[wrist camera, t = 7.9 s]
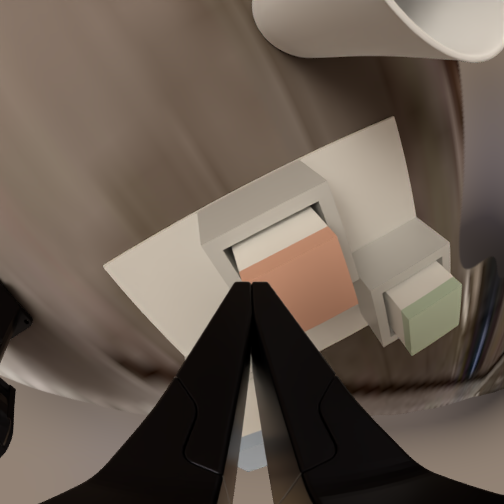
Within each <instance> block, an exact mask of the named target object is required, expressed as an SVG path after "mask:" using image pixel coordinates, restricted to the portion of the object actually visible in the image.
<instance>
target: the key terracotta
mask: <svg viewBox="0 0 504 504" xmlns="http://www.w3.org/2000/svg"><path fill="white" fill-rule="evenodd" d="M232 250H233V253H234V257H235V260H236V264H237V267H238V270H239V274H240V277H241V280H242V281H246V282H250V283H251V284H252V282H268V283H269V284H270V285H271V287H272V288H273V290H274V291H275V292H276V294H277V295H278V296H279V298H280V299H281V300H282V302H283V303H284V304H285V306H286V307H287V309H288V310H289V311H290V313H291V314H292V315H293V317H294V318H295V319H296V321H297V322H298V323H299V325H300V326H301V328H302V329H303V330H304V332H305V331H307V330H309V329H311V328H313V327H315V326H317V325H319V324H321V323H323V322H325V321H327V320H329V319H331V318H333V317H335V316H336V315H338V314H340V313H342V312H344V311H346V310H348V309H349V308H351V307H353V306H355V305H357V304H358V299H357V296H356V293H355V290H354V286H353V283H352V280H351V277H350V274H349V271H348V268H347V265H346V261H345V258H344V255H343V252H342V249H341V247H340V244H339V241H338V238H337V236H336V234H335V233H334V232H333V231H332V230H331V229H330V228H329V227H328V226H327V224H326V223H325V222H324V221H323V220H322V219H321V218H320V217H319V216H318V215H317V214H316V212H315V211H314V210H313V209H312V208H311V207H310V206H308V207H306V208H304V209H302V210H300V211H298V212H296V213H294V214H292V215H290V216H288V217H286V218H284V219H282V220H280V221H278V222H276V223H274V224H273V225H271V226H269V227H267V228H265V229H263V230H261V231H259V232H257V233H255V234H253V235H251V236H249V237H247V238H245V239H244V240H242V241H240V242H238V243H236V244H234V245H232Z"/></svg>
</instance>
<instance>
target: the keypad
mask: <svg viewBox="0 0 504 504" xmlns="http://www.w3.org/2000/svg"><path fill="white" fill-rule="evenodd" d="M308 206H310V207H311V208H312V209H313V210H314V211H315V212H316V214H317V215H318V216H319V217H320V218H321V219H322V220H323V221H324V222H325V223H326V224H327V226H328V227H329V228H330V229H331V230H332V231H333V232H334V233H335V234H336V236H337V238H338V241H339V244H340V247H341V249H342V252H343V255H344V258H345V261H346V265H347V268H348V271H349V274H350V277H351V280H352V283H353V286H354V290H355V293H356V296H357V299H358V304H357V305H355V306H353V307H351V308H349V309H348V310H346V311H344V312H342V313H340V314H338V315H336V316H335V317H333V318H331V319H329V320H327V321H325V322H323V323H321V324H319V325H317V326H315V327H313V328H311V329H309V330H307V331H305V333H306V334H307V336H308V337H309V338H310V340H311V341H312V342H313V344H314V345H315V347H316V348H317V349H318V351H321V350H323V349H325V348H327V347H329V346H331V345H333V344H334V343H336V342H338V341H340V340H342V339H344V338H346V337H348V336H350V335H351V334H353V333H355V332H357V331H359V330H361V329H362V328H364V327H366V326H368V325H369V326H370V328H371V329H372V331H373V332H374V334H375V335H376V337H377V338H378V340H379V341H380V343H381V344H382V346H383V347H385V346H387V345H388V344H390V343H392V342H393V341H395V340H397V339H398V338H399V337H398V336H397V335H396V333H395V332H394V330H393V329H392V328H391V326H390V325H389V324H388V319H387V314H386V308H385V304H384V299H383V294H382V293H384V292H385V291H387V290H389V289H390V288H392V287H394V286H395V285H397V284H399V283H400V282H402V281H404V280H405V279H407V278H409V277H410V276H412V275H414V274H415V273H417V272H418V271H420V270H422V269H423V268H425V267H426V266H428V265H429V264H431V263H433V262H434V261H437V262H438V263H439V264H440V265H442V266H443V267H444V268H445V269H446V270H447V271H448V272H449V273H450V242H448V241H447V240H446V239H445V238H443V237H442V236H441V235H439V234H438V233H437V232H436V231H434V230H433V229H432V228H430V227H429V226H428V225H426V224H425V223H424V222H422V221H421V220H420V219H418V218H417V217H416V213H415V207H414V201H413V195H412V190H411V185H410V180H409V175H408V170H407V166H406V161H405V157H404V152H403V148H402V144H401V140H400V136H399V132H398V129H397V125H396V121H395V118H394V116H391V117H389V118H387V119H384V120H382V121H380V122H377V123H375V124H373V125H370V126H368V127H366V128H363V129H361V130H359V131H357V132H354V133H352V134H350V135H348V136H345V137H343V138H341V139H339V140H337V141H334V142H332V143H330V144H328V145H326V146H324V147H322V148H319V149H317V150H315V151H313V152H311V153H309V154H307V155H305V156H302V157H300V158H298V159H296V160H294V161H292V162H290V163H288V164H286V165H284V166H282V167H280V168H278V169H276V170H274V171H272V172H270V173H268V174H266V175H264V176H262V177H260V178H258V179H256V180H254V181H252V182H250V183H248V184H246V185H244V186H242V187H240V188H238V189H237V190H235V191H233V192H231V193H229V194H227V195H225V196H223V197H221V198H220V199H218V200H216V201H214V202H212V203H210V204H208V205H206V206H205V207H203V208H201V209H199V210H197V211H195V212H194V213H192V214H190V215H188V216H186V217H185V218H183V219H181V220H179V221H177V222H176V223H174V224H172V225H170V226H169V227H167V228H165V229H163V230H162V231H160V232H158V233H156V234H155V235H153V236H151V237H149V238H148V239H146V240H144V241H143V242H141V243H139V244H138V245H136V246H134V247H132V248H131V249H129V250H127V251H126V252H124V253H122V254H121V255H119V256H117V257H116V258H114V259H112V260H111V261H109V262H108V263H106V264H104V265H103V267H104V269H105V270H106V271H107V272H108V273H109V275H110V276H111V277H112V278H113V279H114V281H115V282H116V283H117V284H118V285H119V286H120V288H121V289H122V290H123V291H124V292H125V293H126V295H127V296H128V297H129V298H130V299H131V300H132V301H133V302H134V304H135V305H136V306H137V307H138V308H139V309H140V310H141V311H142V312H143V314H144V315H145V316H146V317H147V318H148V319H149V320H150V321H151V322H152V323H153V324H154V325H155V326H156V328H157V329H158V330H159V331H160V332H161V333H162V334H163V335H164V336H165V337H166V338H167V339H168V340H169V341H170V342H171V343H172V344H173V345H174V346H175V347H176V348H177V349H178V350H179V351H180V352H181V353H182V354H183V355H184V356H185V360H186V358H187V357H188V355H189V353H190V352H191V350H192V349H193V347H194V345H195V344H196V342H197V341H198V339H199V337H200V336H201V334H202V333H203V331H204V330H205V328H206V326H207V325H208V323H209V322H210V320H211V318H212V317H213V315H214V314H215V312H216V311H217V309H218V307H219V306H220V304H221V303H222V301H223V299H224V298H225V296H226V295H227V293H228V291H229V290H230V288H231V287H232V285H233V284H234V282H237V281H242V280H241V277H240V274H239V270H238V267H237V264H236V260H235V257H234V253H233V250H232V245H234V244H236V243H238V242H240V241H242V240H244V239H245V238H247V237H249V236H251V235H253V234H255V233H257V232H259V231H261V230H263V229H265V228H267V227H269V226H271V225H273V224H274V223H276V222H278V221H280V220H282V219H284V218H286V217H288V216H290V215H292V214H294V213H296V212H298V211H300V210H302V209H304V208H306V207H308ZM251 379H253V372H252V364H251V365H250V375H249V380H251Z"/></svg>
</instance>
